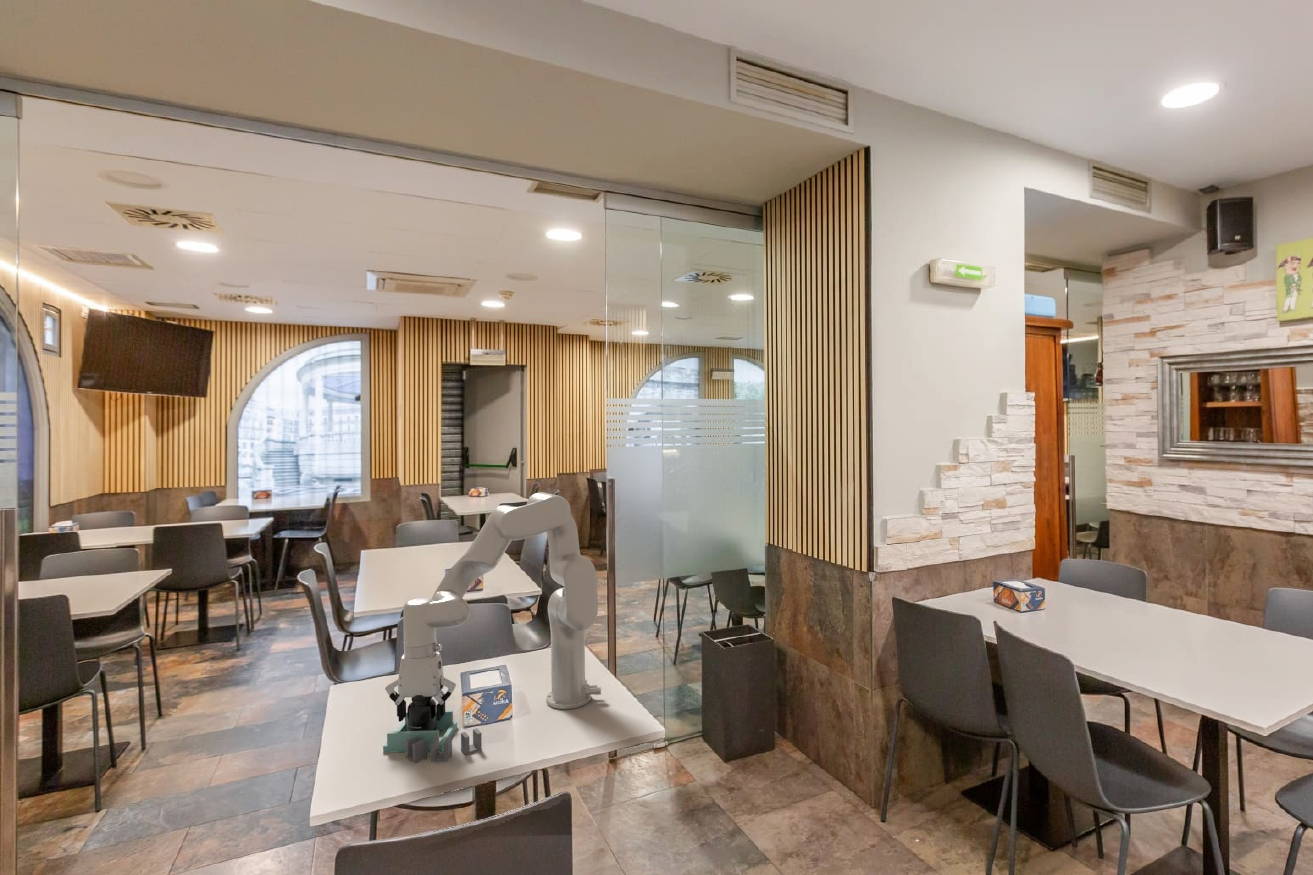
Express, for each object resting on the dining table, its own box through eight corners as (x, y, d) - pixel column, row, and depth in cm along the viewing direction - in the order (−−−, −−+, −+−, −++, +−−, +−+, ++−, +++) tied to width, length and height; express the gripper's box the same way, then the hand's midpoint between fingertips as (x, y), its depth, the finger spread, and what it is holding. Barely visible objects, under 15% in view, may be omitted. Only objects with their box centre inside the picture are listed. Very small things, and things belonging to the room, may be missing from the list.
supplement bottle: (409, 748, 149) (408, 699, 149) (406, 736, 155) (405, 689, 155) (438, 741, 152) (438, 693, 152) (434, 730, 158) (434, 683, 158)
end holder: (457, 727, 160) (456, 709, 160) (442, 751, 148) (441, 732, 148) (402, 728, 160) (402, 711, 160) (383, 752, 148) (382, 733, 148)
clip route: (484, 745, 150) (484, 727, 150) (475, 762, 143) (475, 743, 143) (414, 746, 150) (413, 729, 150) (401, 763, 142) (401, 745, 142)
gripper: (459, 643, 158) (460, 711, 158) (391, 645, 157) (392, 712, 157) (450, 654, 150) (451, 724, 150) (378, 655, 150) (379, 726, 150)
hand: (421, 718), depth 154 cm, fingers open, 9 cm apart
